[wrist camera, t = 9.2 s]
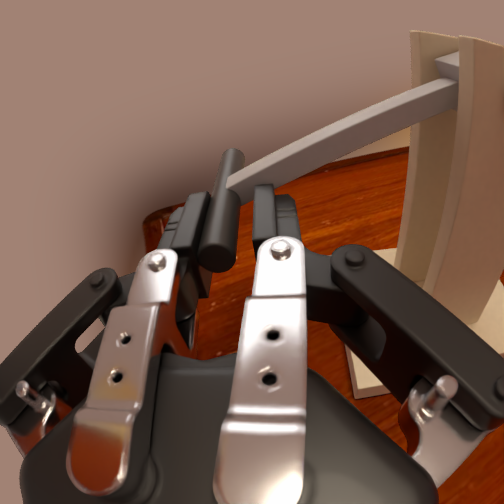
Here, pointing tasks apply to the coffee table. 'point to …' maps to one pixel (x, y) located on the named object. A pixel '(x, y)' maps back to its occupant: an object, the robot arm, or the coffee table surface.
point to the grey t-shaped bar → (314, 157)
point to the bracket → (454, 195)
